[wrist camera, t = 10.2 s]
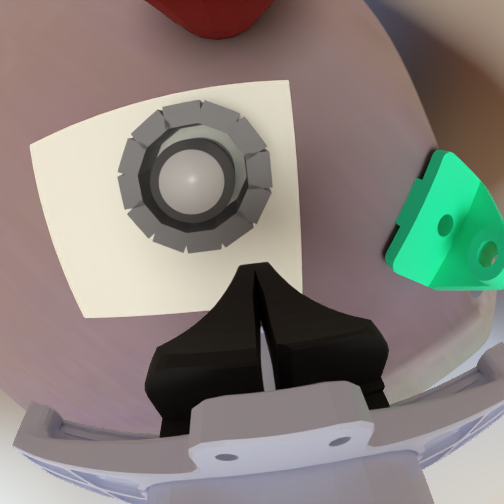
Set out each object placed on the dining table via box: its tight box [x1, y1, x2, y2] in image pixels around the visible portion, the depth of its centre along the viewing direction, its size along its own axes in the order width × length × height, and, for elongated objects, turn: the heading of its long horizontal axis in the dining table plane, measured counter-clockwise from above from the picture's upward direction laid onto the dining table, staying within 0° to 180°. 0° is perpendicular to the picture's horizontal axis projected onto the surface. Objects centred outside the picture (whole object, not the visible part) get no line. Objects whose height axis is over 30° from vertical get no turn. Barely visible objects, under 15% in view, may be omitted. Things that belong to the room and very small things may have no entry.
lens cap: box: [150, 137, 235, 223], centre depth 17 cm, size 5×5×4 cm
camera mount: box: [385, 150, 504, 290], centre depth 17 cm, size 12×8×10 cm, turn 158°
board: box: [30, 80, 302, 318], centre depth 19 cm, size 18×22×4 cm
